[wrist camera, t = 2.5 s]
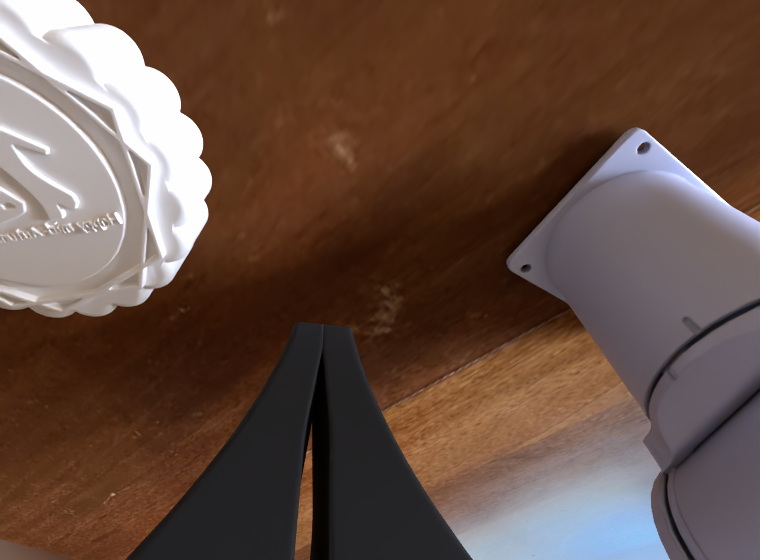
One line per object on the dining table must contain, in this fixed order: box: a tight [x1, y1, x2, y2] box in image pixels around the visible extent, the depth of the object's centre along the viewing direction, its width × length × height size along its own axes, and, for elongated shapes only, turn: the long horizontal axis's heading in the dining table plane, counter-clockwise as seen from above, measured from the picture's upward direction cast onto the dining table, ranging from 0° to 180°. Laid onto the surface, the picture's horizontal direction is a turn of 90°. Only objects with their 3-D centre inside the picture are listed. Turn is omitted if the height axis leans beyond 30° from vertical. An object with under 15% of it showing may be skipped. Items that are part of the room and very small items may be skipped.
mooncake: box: [0, 0, 212, 318], centre depth 15 cm, size 12×12×4 cm
